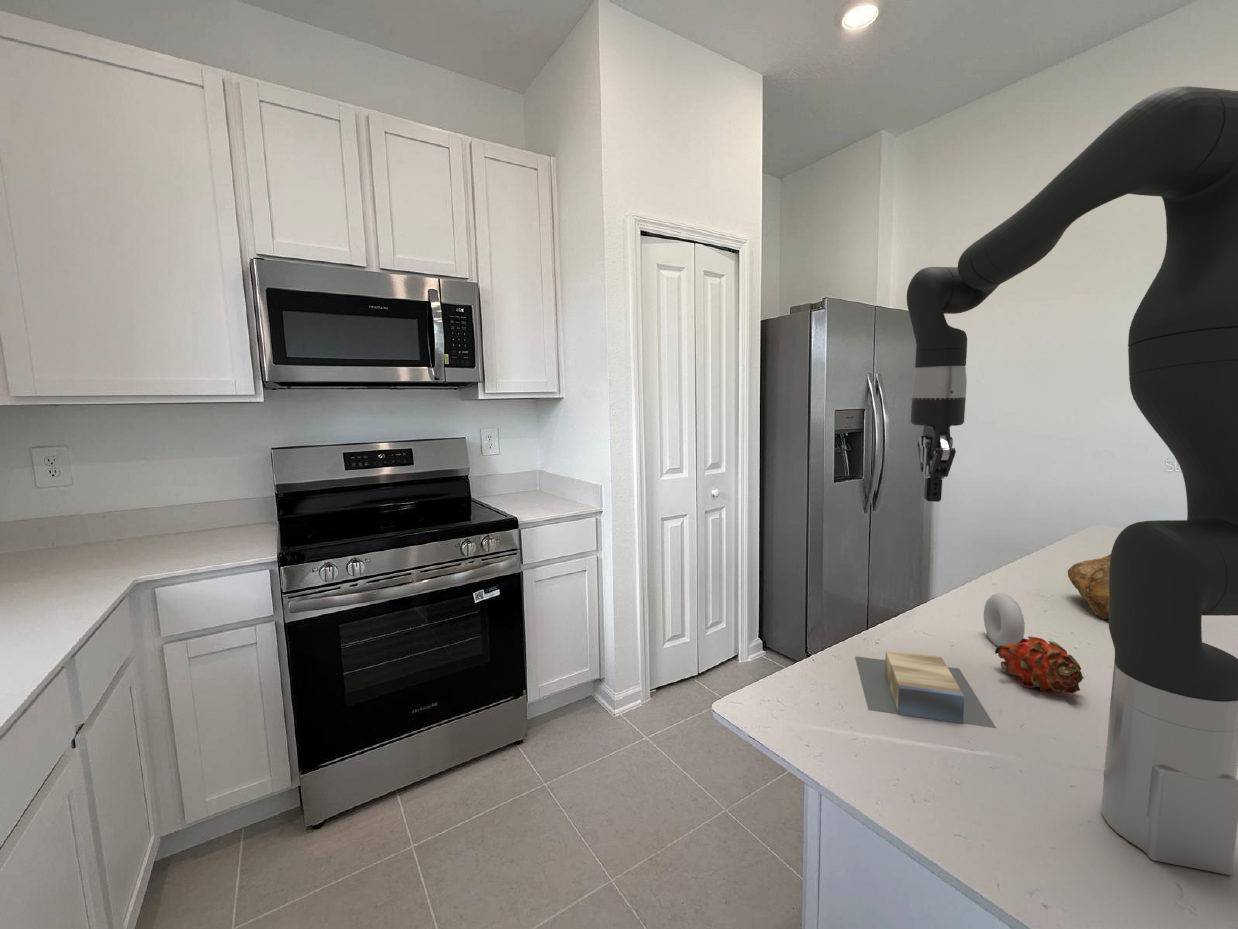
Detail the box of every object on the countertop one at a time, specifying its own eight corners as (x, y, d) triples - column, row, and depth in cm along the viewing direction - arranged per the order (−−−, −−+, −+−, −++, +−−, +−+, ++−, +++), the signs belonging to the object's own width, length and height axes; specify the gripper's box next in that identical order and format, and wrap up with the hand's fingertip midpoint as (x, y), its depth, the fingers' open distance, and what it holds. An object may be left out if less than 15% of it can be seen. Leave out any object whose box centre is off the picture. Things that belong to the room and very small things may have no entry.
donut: (1027, 661, 92) (1031, 605, 91) (1004, 659, 93) (1008, 604, 92) (998, 636, 102) (1001, 585, 101) (978, 635, 102) (981, 584, 101)
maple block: (939, 680, 85) (962, 723, 74) (884, 673, 88) (898, 714, 76) (941, 656, 85) (964, 696, 73) (885, 650, 87) (900, 688, 76)
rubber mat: (996, 732, 73) (996, 727, 73) (868, 713, 78) (868, 709, 78) (958, 671, 89) (958, 668, 89) (854, 659, 94) (854, 656, 94)
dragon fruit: (1084, 720, 78) (997, 692, 89) (1106, 675, 81) (1019, 653, 92) (1059, 681, 76) (974, 657, 87) (1083, 636, 79) (997, 618, 90)
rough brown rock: (1084, 591, 126) (1081, 529, 125) (1185, 605, 113) (1183, 536, 112) (1049, 618, 113) (1046, 549, 112) (1159, 639, 99) (1156, 560, 99)
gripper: (979, 395, 79) (971, 510, 81) (952, 394, 91) (946, 494, 94) (922, 396, 81) (916, 508, 83) (903, 395, 93) (898, 492, 96)
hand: (932, 500), depth 88 cm, fingers closed
